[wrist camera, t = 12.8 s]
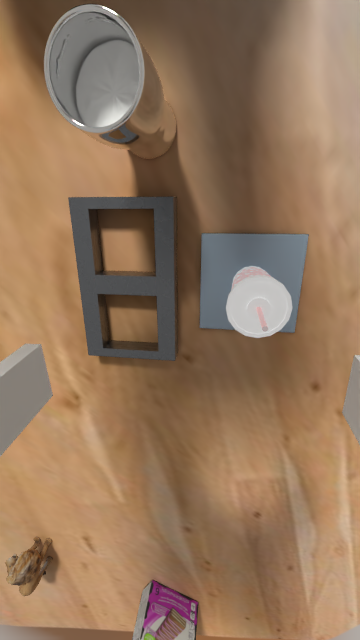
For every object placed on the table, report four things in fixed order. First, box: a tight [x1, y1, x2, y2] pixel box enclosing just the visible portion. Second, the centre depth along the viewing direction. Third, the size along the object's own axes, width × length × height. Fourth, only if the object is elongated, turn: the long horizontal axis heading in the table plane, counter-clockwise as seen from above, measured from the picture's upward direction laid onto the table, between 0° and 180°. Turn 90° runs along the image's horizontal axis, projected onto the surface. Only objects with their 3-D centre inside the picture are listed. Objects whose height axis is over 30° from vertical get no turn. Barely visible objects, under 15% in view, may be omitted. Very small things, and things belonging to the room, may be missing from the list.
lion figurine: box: [5, 537, 52, 596], centre depth 59 cm, size 15×5×9 cm, turn 178°
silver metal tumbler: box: [44, 4, 176, 159], centre depth 26 cm, size 7×7×15 cm
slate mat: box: [200, 233, 309, 333], centre depth 37 cm, size 12×12×1 cm
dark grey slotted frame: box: [68, 197, 178, 361], centre depth 38 cm, size 20×12×2 cm, turn 0°
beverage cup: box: [226, 266, 293, 338], centre depth 30 cm, size 6×6×14 cm
